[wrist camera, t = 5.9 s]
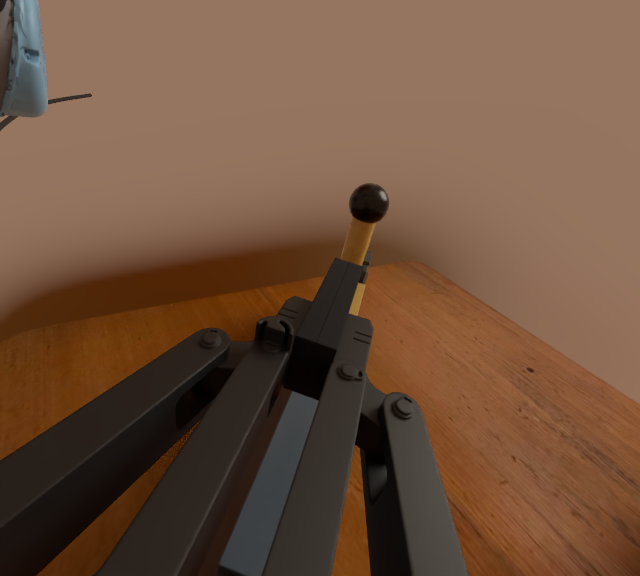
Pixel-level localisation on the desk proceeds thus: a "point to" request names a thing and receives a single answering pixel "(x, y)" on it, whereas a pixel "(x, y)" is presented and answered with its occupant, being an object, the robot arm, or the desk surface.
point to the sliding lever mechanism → (266, 482)
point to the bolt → (363, 220)
